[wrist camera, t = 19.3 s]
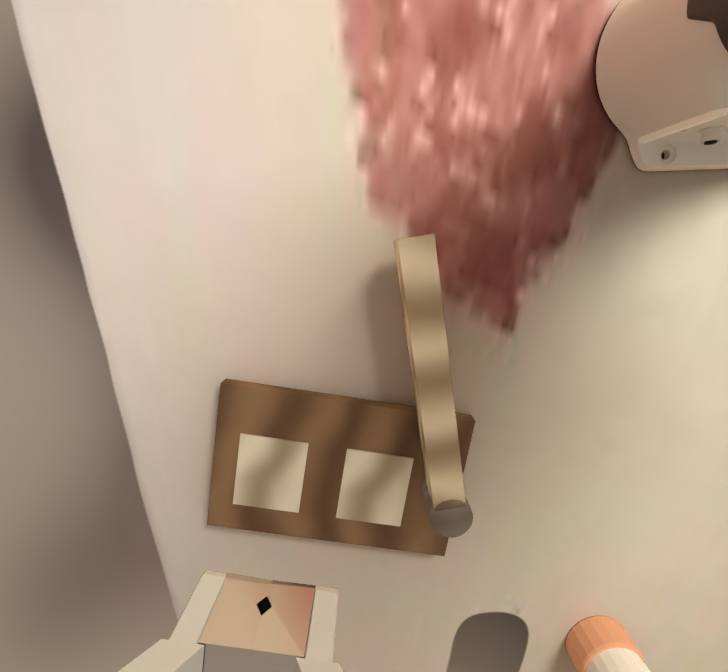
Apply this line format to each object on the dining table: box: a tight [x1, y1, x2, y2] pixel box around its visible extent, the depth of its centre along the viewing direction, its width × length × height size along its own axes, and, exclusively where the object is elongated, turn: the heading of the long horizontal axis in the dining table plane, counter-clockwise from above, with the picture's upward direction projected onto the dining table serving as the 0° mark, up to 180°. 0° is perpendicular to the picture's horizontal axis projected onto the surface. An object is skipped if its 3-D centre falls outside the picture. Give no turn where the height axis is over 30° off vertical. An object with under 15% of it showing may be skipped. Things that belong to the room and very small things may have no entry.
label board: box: [207, 379, 475, 556], centre depth 42 cm, size 26×16×2 cm, turn 81°
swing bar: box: [394, 234, 473, 537], centre depth 37 cm, size 28×4×4 cm, turn 9°
